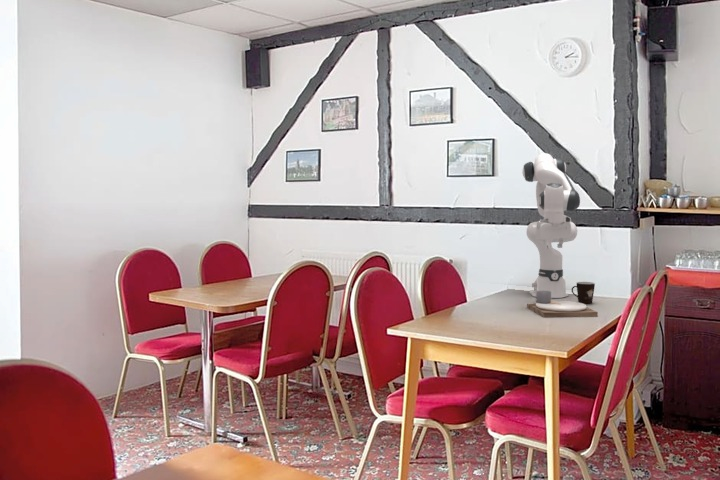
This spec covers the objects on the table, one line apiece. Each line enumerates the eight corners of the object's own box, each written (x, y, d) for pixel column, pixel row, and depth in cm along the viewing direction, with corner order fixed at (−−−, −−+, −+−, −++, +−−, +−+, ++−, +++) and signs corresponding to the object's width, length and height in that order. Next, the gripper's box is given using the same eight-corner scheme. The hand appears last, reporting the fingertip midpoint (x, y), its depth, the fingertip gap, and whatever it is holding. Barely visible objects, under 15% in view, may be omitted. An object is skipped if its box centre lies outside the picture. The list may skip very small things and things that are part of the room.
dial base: (526, 307, 331) (526, 303, 331) (576, 307, 333) (576, 302, 333) (543, 317, 307) (544, 312, 307) (597, 316, 309) (597, 311, 309)
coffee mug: (592, 301, 348) (592, 281, 347) (596, 304, 340) (596, 284, 339) (568, 301, 349) (568, 281, 349) (571, 304, 341) (572, 283, 340)
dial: (594, 306, 322) (594, 293, 321) (574, 313, 305) (575, 298, 304) (547, 301, 336) (547, 288, 336) (526, 307, 319) (526, 293, 319)
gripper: (543, 219, 317) (542, 250, 319) (573, 218, 328) (572, 247, 330) (532, 219, 323) (531, 249, 324) (563, 217, 334) (562, 246, 335)
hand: (552, 248), depth 327 cm, fingers open, 8 cm apart
